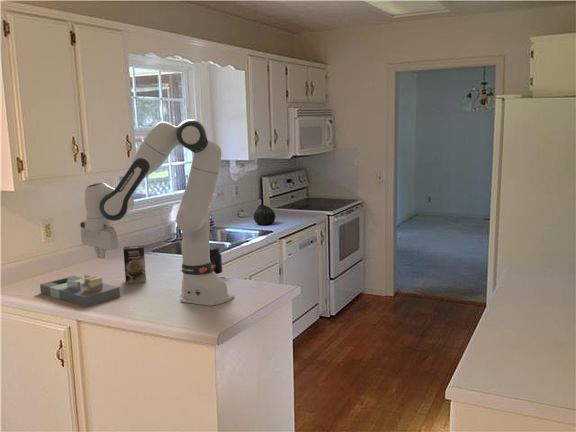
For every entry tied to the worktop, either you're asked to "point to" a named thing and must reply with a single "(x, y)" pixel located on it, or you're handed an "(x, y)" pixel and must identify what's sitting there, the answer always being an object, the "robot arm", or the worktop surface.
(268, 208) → the squash
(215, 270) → the supplement bottle
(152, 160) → the robot arm
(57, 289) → the tunnel deck
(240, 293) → the worktop surface
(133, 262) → the coffee box
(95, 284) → the maple block
